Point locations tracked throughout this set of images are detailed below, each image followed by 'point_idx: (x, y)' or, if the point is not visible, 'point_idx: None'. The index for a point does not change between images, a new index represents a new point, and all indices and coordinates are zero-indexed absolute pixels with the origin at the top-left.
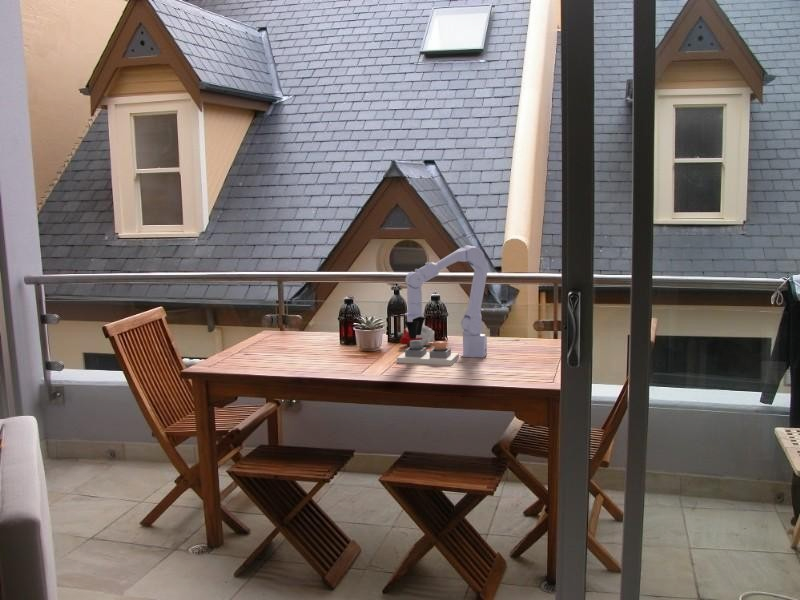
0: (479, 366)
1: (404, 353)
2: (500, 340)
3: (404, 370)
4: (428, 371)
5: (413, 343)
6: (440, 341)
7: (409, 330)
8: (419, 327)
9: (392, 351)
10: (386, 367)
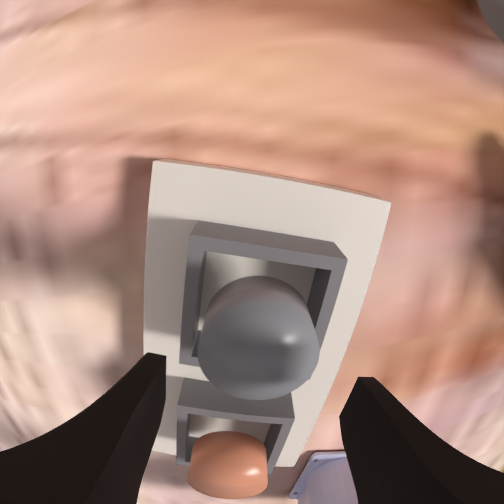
0: (163, 486)
1: (306, 199)
2: (494, 460)
3: (12, 243)
4: (32, 350)
5: (200, 339)
6: (255, 483)
7: (101, 420)
8: (367, 477)
9: (480, 102)
10: (47, 124)
